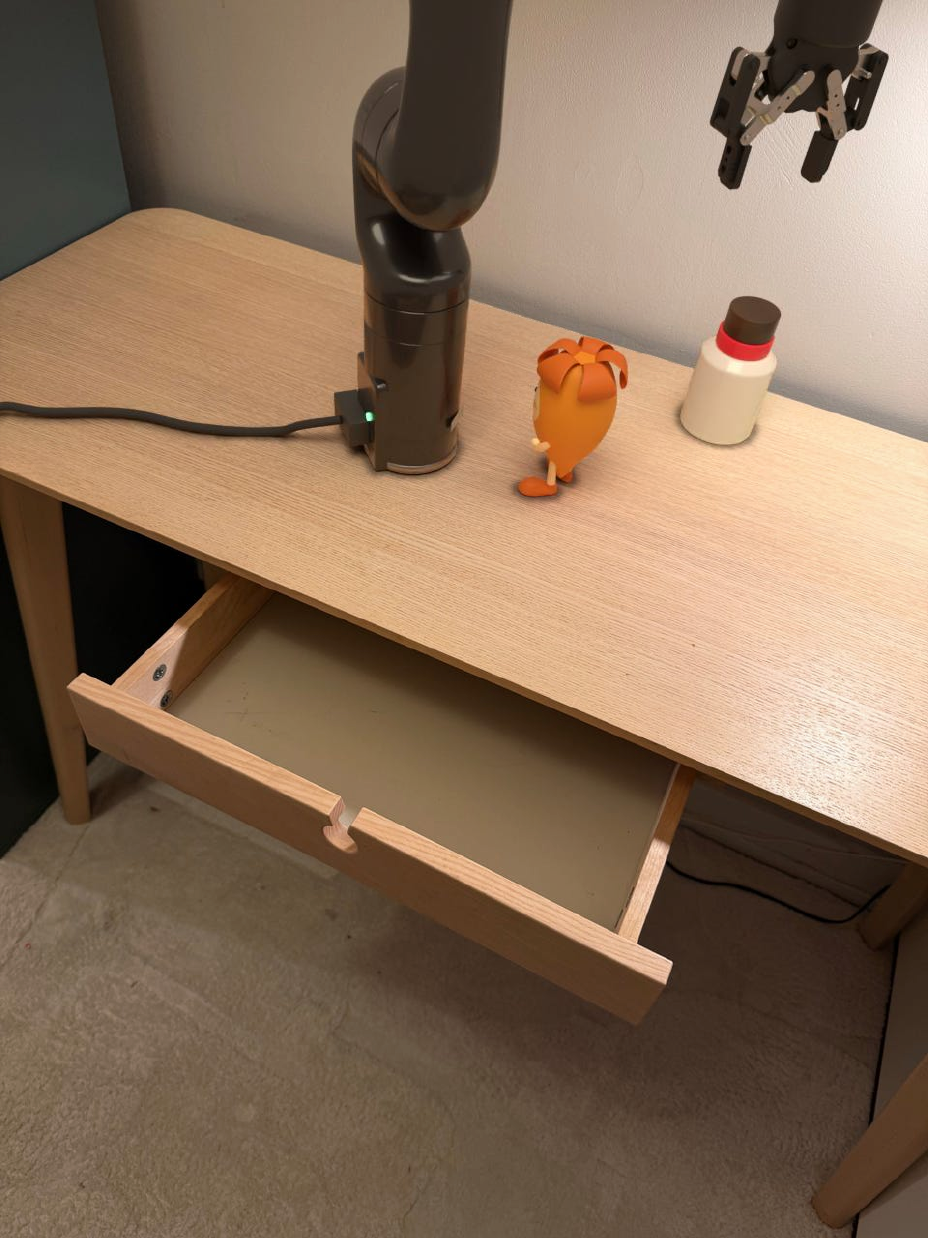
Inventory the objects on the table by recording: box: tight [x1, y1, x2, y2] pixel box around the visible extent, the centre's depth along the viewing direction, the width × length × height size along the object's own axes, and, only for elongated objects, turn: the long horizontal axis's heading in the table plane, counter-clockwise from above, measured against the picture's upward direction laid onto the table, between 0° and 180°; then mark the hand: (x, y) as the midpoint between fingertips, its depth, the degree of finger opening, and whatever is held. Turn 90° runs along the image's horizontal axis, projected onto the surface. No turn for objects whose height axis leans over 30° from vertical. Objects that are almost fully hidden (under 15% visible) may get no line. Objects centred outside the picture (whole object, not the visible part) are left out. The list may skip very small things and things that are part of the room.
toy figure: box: [518, 335, 629, 497], centre depth 83 cm, size 12×8×15 cm, turn 143°
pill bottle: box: [679, 319, 778, 446], centre depth 94 cm, size 8×8×11 cm
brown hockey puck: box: [723, 295, 782, 345], centre depth 89 cm, size 5×5×2 cm
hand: (769, 182), depth 80 cm, fingers open, 8 cm apart
